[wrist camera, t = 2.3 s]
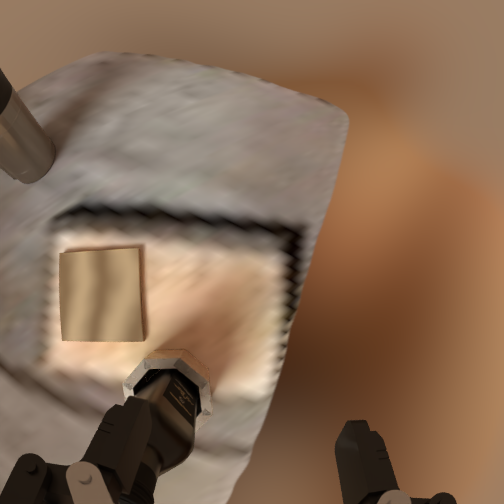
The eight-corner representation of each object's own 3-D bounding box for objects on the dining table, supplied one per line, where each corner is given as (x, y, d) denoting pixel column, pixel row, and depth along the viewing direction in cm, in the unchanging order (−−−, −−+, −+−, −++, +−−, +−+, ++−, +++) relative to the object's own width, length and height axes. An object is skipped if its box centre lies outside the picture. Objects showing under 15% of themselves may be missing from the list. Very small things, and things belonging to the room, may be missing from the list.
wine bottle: (175, 357, 39) (113, 454, 9) (202, 388, 38) (200, 527, 9) (146, 380, 37) (48, 490, 8) (172, 409, 37) (127, 556, 8)
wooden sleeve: (144, 417, 36) (132, 437, 28) (134, 350, 38) (119, 358, 30) (213, 415, 38) (215, 436, 30) (206, 347, 39) (206, 356, 32)
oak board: (65, 340, 36) (62, 340, 35) (62, 254, 39) (59, 253, 38) (144, 340, 38) (143, 341, 37) (139, 249, 41) (138, 248, 40)
